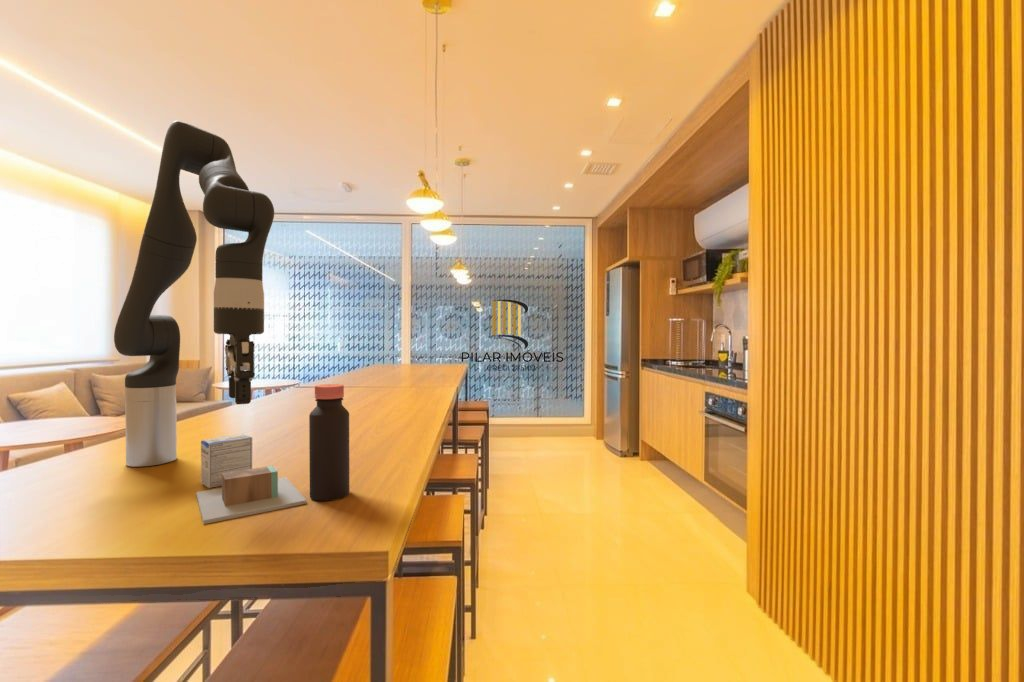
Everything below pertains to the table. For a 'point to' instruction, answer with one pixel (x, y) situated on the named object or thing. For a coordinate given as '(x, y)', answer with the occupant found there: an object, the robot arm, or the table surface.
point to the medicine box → (224, 457)
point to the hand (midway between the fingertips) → (239, 400)
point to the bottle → (329, 444)
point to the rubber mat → (216, 510)
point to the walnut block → (249, 485)
